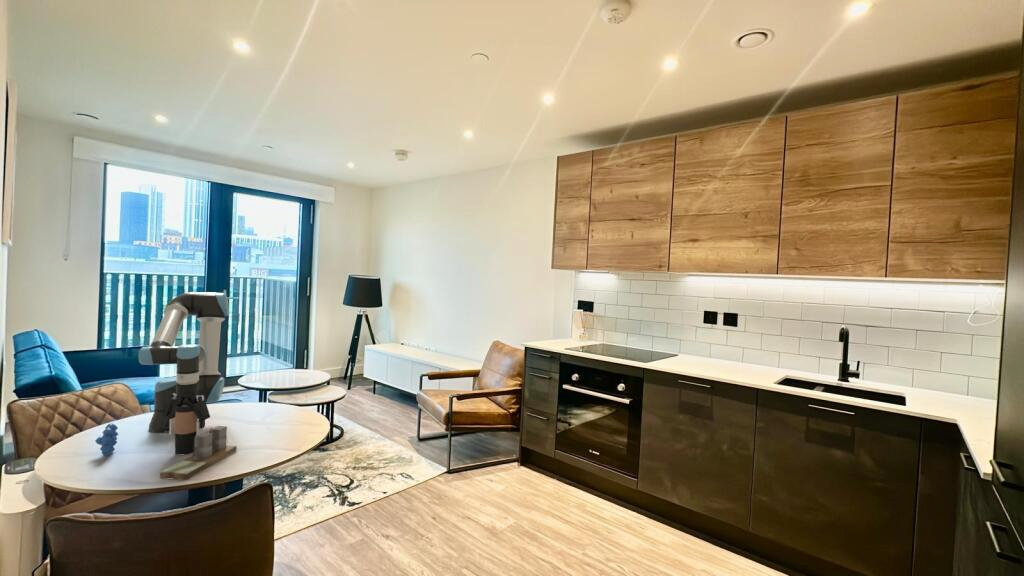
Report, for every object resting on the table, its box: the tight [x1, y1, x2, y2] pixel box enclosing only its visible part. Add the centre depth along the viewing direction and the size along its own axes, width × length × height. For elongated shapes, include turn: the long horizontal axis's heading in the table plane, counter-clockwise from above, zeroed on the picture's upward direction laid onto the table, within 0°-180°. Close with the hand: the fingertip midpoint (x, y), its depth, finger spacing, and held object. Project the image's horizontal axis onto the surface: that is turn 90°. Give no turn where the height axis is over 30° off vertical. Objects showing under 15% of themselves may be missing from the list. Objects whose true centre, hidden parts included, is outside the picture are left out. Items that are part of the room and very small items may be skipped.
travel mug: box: [174, 403, 198, 455], centre depth 180 cm, size 8×8×20 cm
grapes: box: [94, 422, 119, 457], centre depth 174 cm, size 12×7×12 cm, turn 29°
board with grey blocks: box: [159, 425, 237, 481], centre depth 170 cm, size 10×26×11 cm, turn 176°
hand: (186, 434), depth 180 cm, fingers open, 11 cm apart
